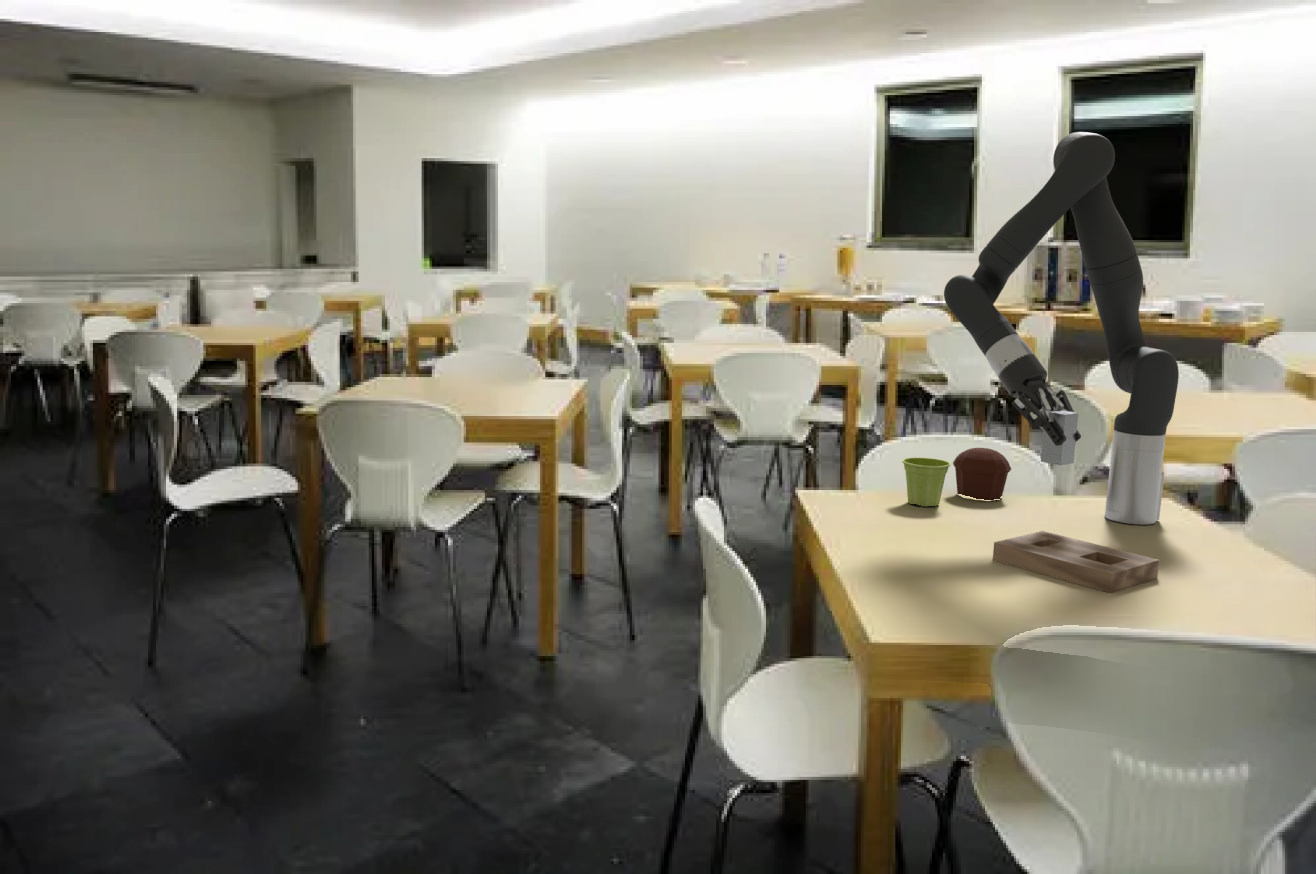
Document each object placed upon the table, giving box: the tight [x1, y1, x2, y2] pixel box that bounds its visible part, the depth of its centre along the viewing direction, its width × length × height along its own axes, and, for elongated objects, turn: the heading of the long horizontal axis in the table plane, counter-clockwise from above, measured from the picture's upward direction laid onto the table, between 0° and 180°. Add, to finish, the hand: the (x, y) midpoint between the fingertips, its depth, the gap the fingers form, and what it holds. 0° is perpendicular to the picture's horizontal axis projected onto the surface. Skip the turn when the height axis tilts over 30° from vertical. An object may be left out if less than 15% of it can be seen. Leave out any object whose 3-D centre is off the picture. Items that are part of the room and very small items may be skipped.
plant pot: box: [901, 457, 952, 507], centre depth 228 cm, size 9×9×9 cm
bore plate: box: [992, 530, 1160, 594], centre depth 186 cm, size 14×21×3 cm, turn 39°
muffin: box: [952, 447, 1012, 500], centre depth 236 cm, size 12×11×10 cm
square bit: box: [1040, 409, 1079, 466], centre depth 202 cm, size 4×4×9 cm
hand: (1069, 441), depth 201 cm, fingers closed on square bit, 4 cm apart
